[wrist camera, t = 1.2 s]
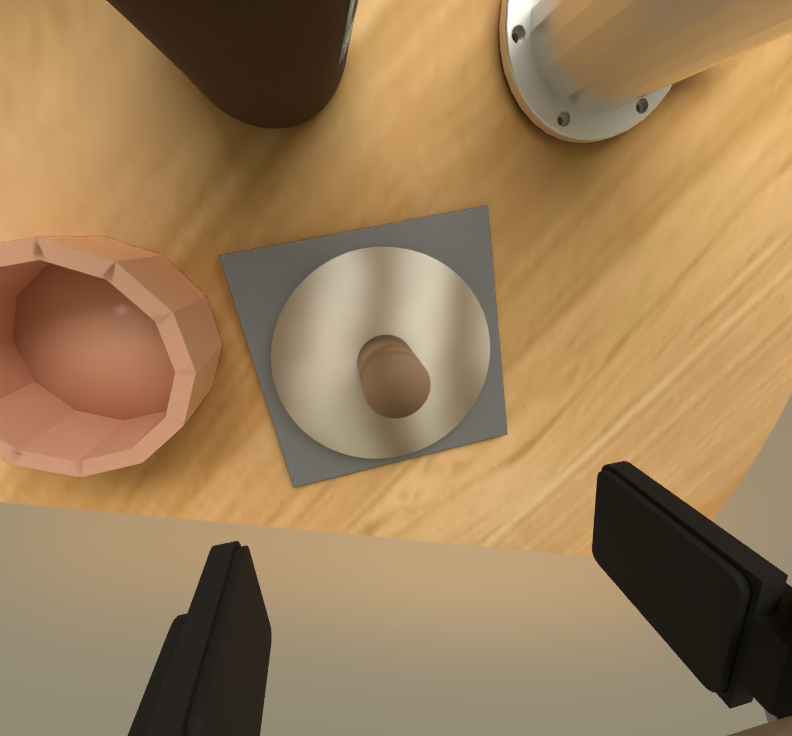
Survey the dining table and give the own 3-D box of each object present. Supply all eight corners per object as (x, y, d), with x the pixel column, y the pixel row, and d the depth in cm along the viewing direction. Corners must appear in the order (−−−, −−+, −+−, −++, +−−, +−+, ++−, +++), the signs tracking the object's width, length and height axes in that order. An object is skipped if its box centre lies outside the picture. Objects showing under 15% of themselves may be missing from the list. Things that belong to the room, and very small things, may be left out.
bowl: (181, 222, 24) (137, 218, 19) (243, 403, 29) (223, 444, 23) (-38, 261, 23) (-155, 269, 17) (61, 444, 27) (-6, 497, 22)
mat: (484, 205, 27) (487, 205, 27) (504, 431, 33) (507, 434, 33) (220, 255, 25) (219, 255, 25) (294, 483, 31) (293, 487, 31)
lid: (472, 226, 27) (512, 224, 21) (492, 424, 32) (529, 466, 26) (243, 271, 25) (219, 281, 20) (304, 471, 31) (299, 526, 25)
